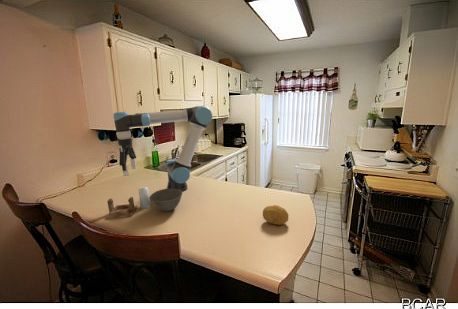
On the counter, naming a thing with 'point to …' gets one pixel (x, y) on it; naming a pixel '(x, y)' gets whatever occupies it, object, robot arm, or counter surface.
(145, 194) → the roll
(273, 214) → the potato
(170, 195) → the bowl
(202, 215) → the counter surface
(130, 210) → the stand
